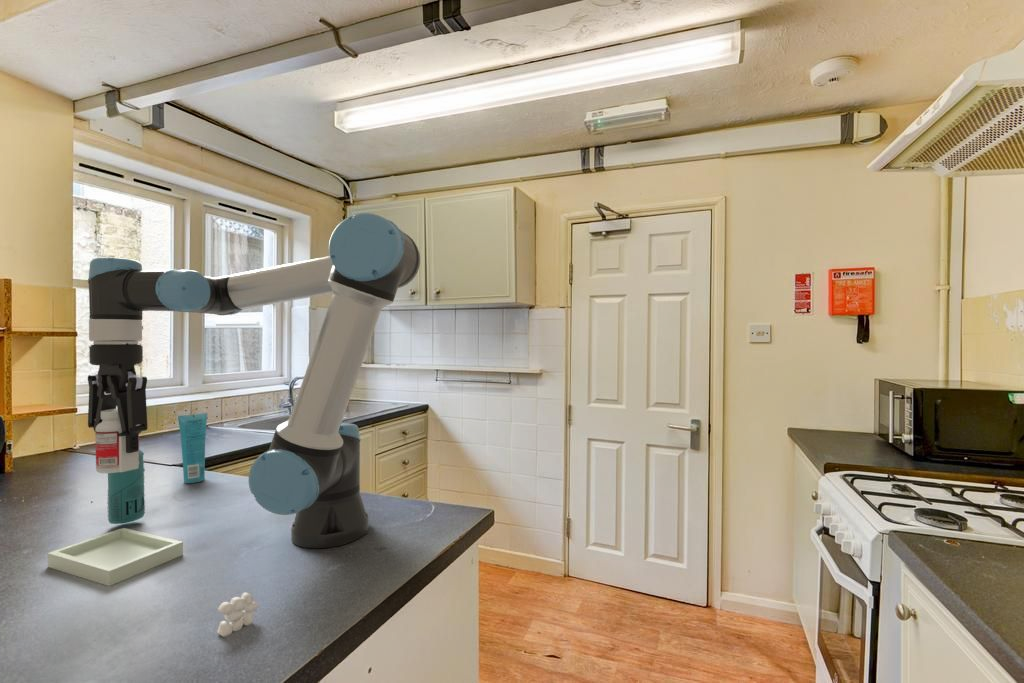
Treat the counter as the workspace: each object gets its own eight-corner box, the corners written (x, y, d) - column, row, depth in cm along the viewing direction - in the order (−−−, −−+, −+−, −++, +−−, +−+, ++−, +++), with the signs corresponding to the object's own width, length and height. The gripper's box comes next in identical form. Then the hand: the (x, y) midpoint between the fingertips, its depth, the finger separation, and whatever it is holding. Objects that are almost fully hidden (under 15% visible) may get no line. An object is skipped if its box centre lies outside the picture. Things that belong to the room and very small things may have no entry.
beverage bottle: (124, 532, 100) (122, 438, 99) (98, 530, 101) (97, 436, 101) (153, 520, 106) (152, 431, 106) (129, 518, 107) (128, 430, 107)
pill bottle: (136, 463, 91) (136, 406, 91) (141, 469, 87) (141, 409, 87) (93, 469, 87) (93, 409, 87) (97, 476, 83) (97, 413, 83)
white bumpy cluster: (221, 638, 64) (223, 605, 65) (215, 635, 65) (218, 602, 65) (257, 623, 68) (259, 591, 69) (251, 620, 69) (254, 588, 70)
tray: (183, 554, 89) (182, 541, 89) (109, 586, 78) (109, 571, 78) (123, 540, 96) (123, 527, 96) (47, 566, 85) (47, 553, 85)
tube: (202, 476, 139) (201, 411, 139) (212, 478, 137) (211, 412, 137) (175, 483, 133) (174, 415, 133) (184, 485, 131) (184, 416, 130)
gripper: (171, 343, 87) (172, 468, 87) (109, 342, 94) (110, 458, 94) (125, 343, 80) (126, 479, 80) (61, 342, 87) (62, 467, 87)
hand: (117, 467), depth 87 cm, fingers closed on pill bottle, 6 cm apart
